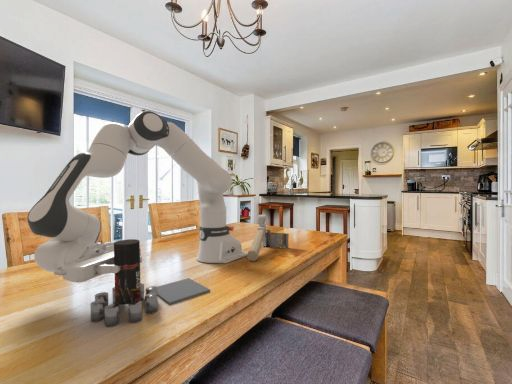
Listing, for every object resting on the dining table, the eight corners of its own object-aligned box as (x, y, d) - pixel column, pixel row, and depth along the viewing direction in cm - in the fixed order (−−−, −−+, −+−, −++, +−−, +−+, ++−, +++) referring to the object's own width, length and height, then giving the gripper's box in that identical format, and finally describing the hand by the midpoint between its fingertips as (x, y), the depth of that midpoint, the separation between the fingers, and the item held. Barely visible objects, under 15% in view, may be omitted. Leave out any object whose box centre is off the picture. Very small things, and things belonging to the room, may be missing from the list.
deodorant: (138, 303, 67) (136, 244, 66) (112, 305, 66) (110, 245, 65) (142, 293, 73) (141, 238, 72) (119, 295, 71) (117, 239, 71)
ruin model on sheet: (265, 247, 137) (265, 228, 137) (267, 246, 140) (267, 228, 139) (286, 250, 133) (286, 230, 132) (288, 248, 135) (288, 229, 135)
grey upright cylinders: (146, 292, 80) (145, 279, 80) (169, 311, 69) (169, 295, 68) (83, 309, 69) (83, 294, 69) (99, 335, 58) (99, 317, 58)
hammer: (257, 239, 109) (266, 214, 137) (246, 239, 110) (257, 214, 138) (258, 273, 113) (267, 242, 142) (248, 273, 114) (258, 242, 142)
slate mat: (188, 279, 91) (188, 278, 91) (210, 291, 81) (210, 289, 81) (150, 290, 82) (150, 288, 82) (169, 304, 72) (169, 302, 72)
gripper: (48, 259, 62) (94, 264, 58) (117, 240, 82) (155, 243, 78) (49, 285, 63) (95, 292, 59) (117, 260, 82) (155, 264, 78)
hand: (130, 264), depth 68 cm, fingers closed on deodorant, 6 cm apart
